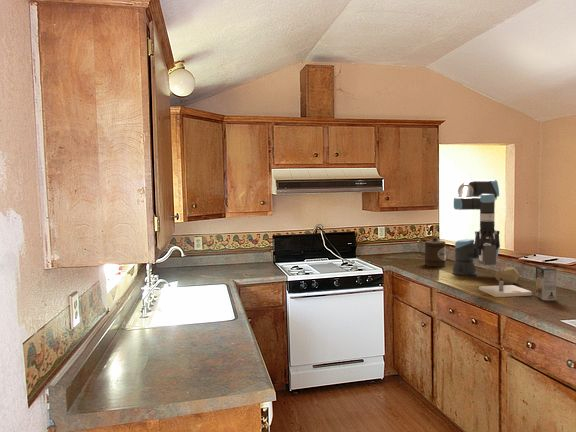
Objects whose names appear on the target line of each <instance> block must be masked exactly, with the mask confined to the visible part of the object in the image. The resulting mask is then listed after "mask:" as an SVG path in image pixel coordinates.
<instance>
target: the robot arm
mask: <svg viewBox="0 0 576 432" xmlns="http://www.w3.org/2000/svg"><path fill="white" fill-rule="evenodd" d="M457 194H458V197H454V198H453V209H454V210H457V211H459V210H460V211H462V210H465V211H466V210H473V211H474V210H478V211H479V230H475V231H474V235H475V238H474V239H473V238H466V239H460V240H457V241H455V246H454V248H455V251H454V254H455V256H454V257H455V258H454V259H455V260H454V265H453V267H452V274H453V275H457V276H467V277H468V276H476V275H477V273H478V271H477V267H476V265H475V260H476V259H477V260H478V261H479V260H480V261H483V250H482V247H483V244H485V243H488V244H493V245H496V260H497V258H498V257H499V256H498V255H499V249H500V248H501V243H500V230H496V229H495V225H496V224H495V220H496V219H495V215H496V214H495V208H496V206H495V204H496V200H497V199H498V197H500V189H499V183H498V180H497V179H491V178H489V179H470V180H467V181H465V182H463V183H461V184H460V185H459V187H458V189H457Z"/></svg>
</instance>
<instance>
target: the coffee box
mask: <svg viewBox="0 0 576 432" xmlns="http://www.w3.org/2000/svg"><path fill="white" fill-rule="evenodd" d="M556 291H557V268H554V267H551V266H550V265H540V266H539V265H537V266H535V297H537V298H539V299H541V300H542V301H557V300H556V299H557V297H556V296H557V293H556Z"/></svg>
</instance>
